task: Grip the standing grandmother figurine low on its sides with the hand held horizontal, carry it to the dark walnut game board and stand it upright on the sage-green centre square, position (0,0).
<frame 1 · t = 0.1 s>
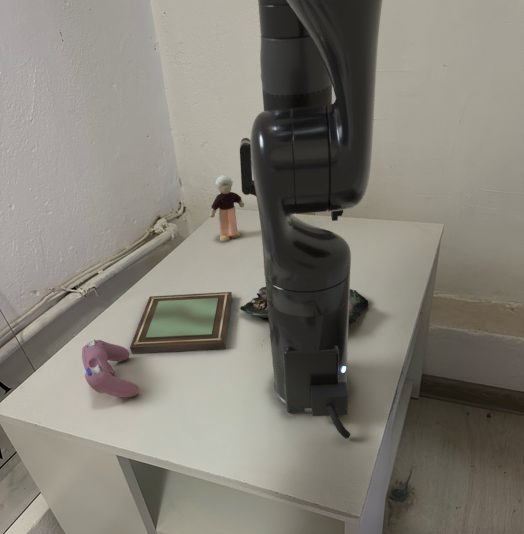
hand: (301, 220, 63), 17 cm above the table, tool pointing down, fingers open, 8 cm apart
board: (185, 323, 77), on the table
video game controller: (114, 382, 67), on the table
decorative rock: (304, 311, 77), on the table
grandmother figurine: (231, 237, 101), on the table
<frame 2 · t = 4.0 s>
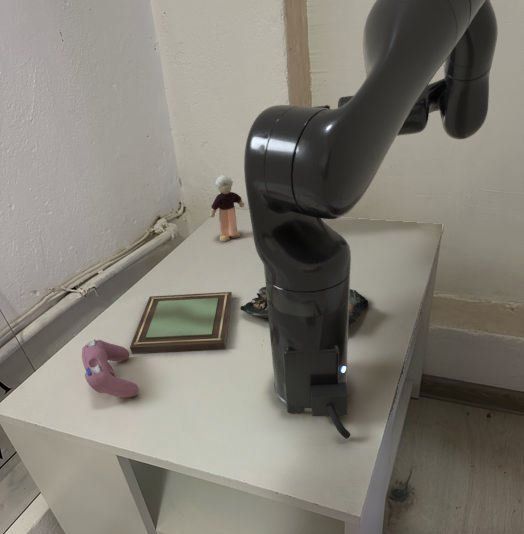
hand: (275, 128, 87), 20 cm above the table, tool horizontal, fingers open, 8 cm apart
nothing on the table moved.
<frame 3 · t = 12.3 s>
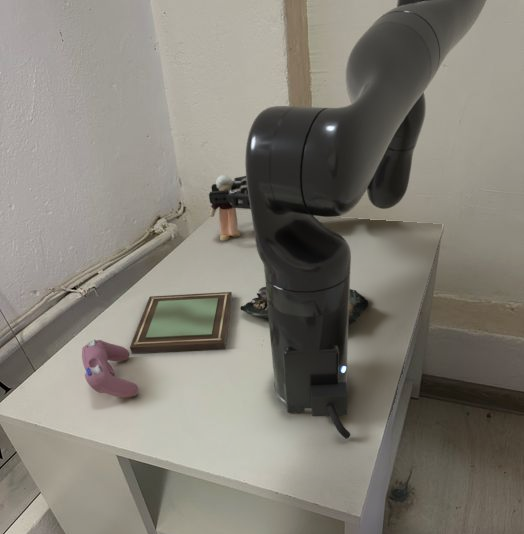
hand: (211, 194, 95), 9 cm above the table, tool horizontal, fingers open, 3 cm apart
grandmother figurine: (232, 236, 101), on the table, touching gripper
everything else where it was.
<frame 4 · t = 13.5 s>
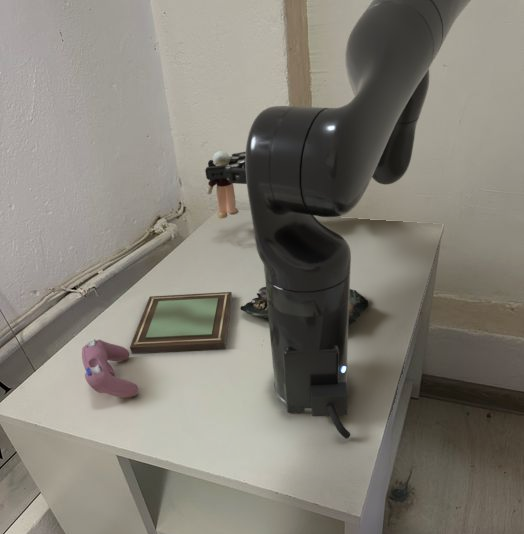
hand: (207, 170, 92), 14 cm above the table, tool horizontal
grandmother figurine: (230, 213, 99), point 4 cm above the table, touching gripper
everything else where it was.
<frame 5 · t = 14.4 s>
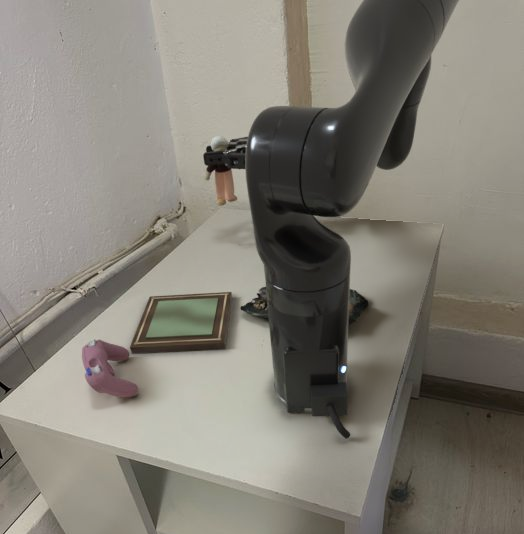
hand: (205, 155, 90), 17 cm above the table, tool horizontal
grandmother figurine: (228, 200, 97), point 7 cm above the table, touching gripper
everything else where it was.
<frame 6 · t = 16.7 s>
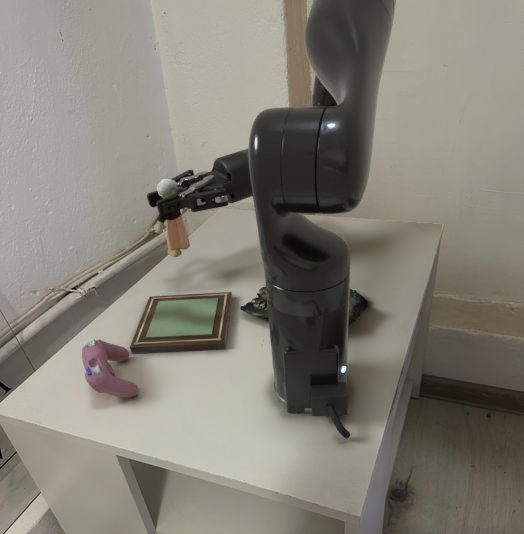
hand: (154, 204, 76), 15 cm above the table, tool horizontal
grandmother figurine: (180, 249, 84), point 6 cm above the table, touching gripper
everything else where it was.
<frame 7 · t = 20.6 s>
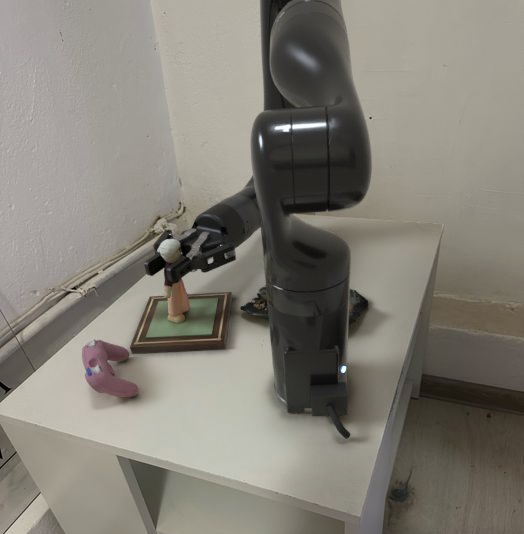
hand: (158, 272, 68), 11 cm above the table, tool horizontal, fingers open, 3 cm apart
grandmother figurine: (178, 313, 77), point 1 cm above the table, touching board, gripper
everything else where it was.
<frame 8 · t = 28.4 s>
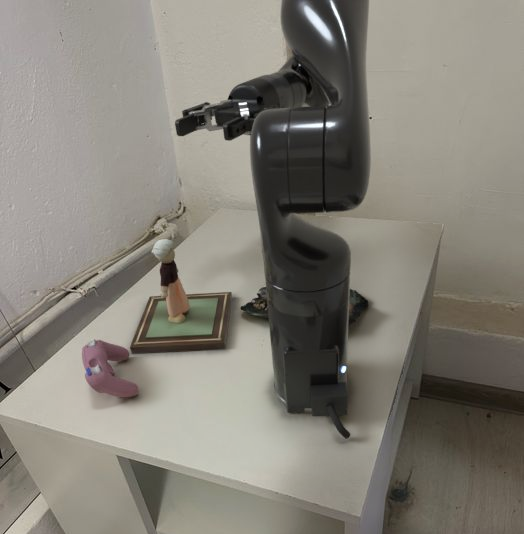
hand: (201, 130, 68), 26 cm above the table, tool horizontal, fingers open, 8 cm apart
grandmother figurine: (179, 314, 77), point 1 cm above the table, touching board
everything else where it was.
at the end: grandmother figurine 1.3 cm off-centre on the board, point 1.2 cm above the board's base; grandmother figurine tilted 0°; the gripper is holding nothing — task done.
